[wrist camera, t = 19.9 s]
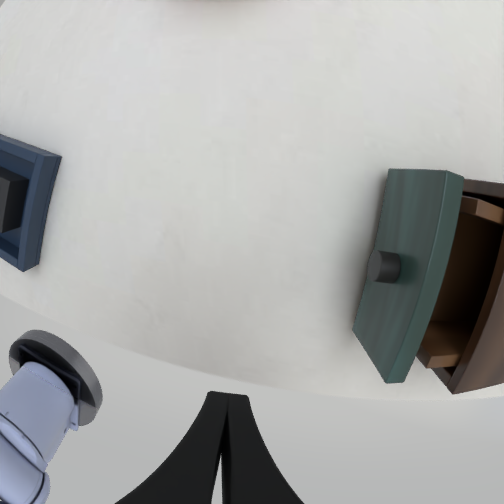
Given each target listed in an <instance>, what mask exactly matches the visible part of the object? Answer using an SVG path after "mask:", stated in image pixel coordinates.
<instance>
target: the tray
mask: <svg viewBox="0 0 504 504" xmlns="http://www.w3.org/2000/svg"><path fill="white" fill-rule="evenodd" d="M60 160H61V156H59V155H56V154H54V153H51V152H48V151H46V150H43V149H40V148H37V147H35V146H32V145H29V144H26V143H24V142H21V141H18V140H15V139H13V138H10V137H7V136H4V135H1V134H0V166H1V167H3V168H6V169H8V170H10V171H12V172H14V173H17V174H19V175H21V176H23V177H25V178H28V179H29V183H28V188H27V192H26V197H25V202H24V207H23V213H22V219H21V225H20V227H19V228H16V229H13V230H10V231H7V232H5V233H0V257H1V258H2V259H4V260H5V261H7V262H8V263H10V264H11V265H13V266H15V267H16V268H18V269H19V270H21V271H22V272H25V271H27V270H28V269H30V268H32V267H34V266H36V265H38V264H39V258H40V251H41V244H42V238H43V232H44V227H45V221H46V216H47V211H48V207H49V202H50V198H51V194H52V190H53V186H54V182H55V178H56V174H57V171H58V167H59V164H60Z"/></svg>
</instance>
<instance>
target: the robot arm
mask: <svg viewBox="0 0 504 504" xmlns="http://www.w3.org/2000/svg"><path fill="white" fill-rule="evenodd" d="M18 354H19V366H20V369H19V370H18V371H17V372H16V374H15V375H14V376H13V377H12V378H11V379H10V380H9V381H8V382H7V383H6V384H5V386H4V387H3V388H2V389H1V390H0V499H1V500H2V501H0V504H45V502H46V500H47V498H48V495H49V492H50V480H49V476H48V474H47V473H46V472H45V469H46V467H47V465H48V464H47V463H48V462H50V461H51V459H52V458H53V456H54V455H55V453H56V451H57V449H58V447H59V445H60V444H61V442H62V440H63V438H64V437H65V435H66V433H67V431H68V430H69V428H71V429H73V430H75V431H77V430H78V419H79V394H80V381H79V380H78V379H77V378H75V377H73V376H72V375H70V374H68V373H66V372H64V371H63V370H61V369H59V368H57V367H56V366H54V365H52V364H51V363H49V362H47V361H46V360H44V359H42V358H41V357H39V356H38V355H36V354H34V353H33V352H31V351H30V350H28V349H27V348H25V347H24V346H22V345H20V346H19V347H18ZM220 456H221V462H222V463H221V464H222V501H223V502H222V503H223V504H304V503H303V502H302V501H301V500H300V498H299V497H298V496H297V495H296V493H295V492H294V491H293V489H292V488H291V487H290V486H289V484H288V483H287V481H286V480H285V478H284V477H283V475H282V474H281V472H280V471H279V469H278V468H277V466H276V464H275V463H274V461H273V459H272V457H271V455H270V454H269V451H268V449H267V447H266V446H265V443H264V441H263V439H262V437H261V434H260V432H259V430H258V427H257V425H256V422H255V419H254V416H253V413H252V410H251V406H250V401H249V398H248V396H247V395H240V394H231V393H223V392H215V391H210V392H208V393H207V396H206V399H205V402H204V404H203V406H202V408H201V410H200V412H199V414H198V416H197V417H196V419H195V421H194V422H193V424H192V425H191V427H190V429H189V430H188V432H187V433H186V435H185V436H184V437H183V439H182V440H181V442H180V443H179V444H178V445H177V447H176V448H175V449H174V451H173V452H172V453H171V454H170V455H169V456H168V458H167V459H166V460H165V461H164V462H163V463H162V464H161V465H160V466H159V467H158V468H157V469H156V470H155V472H153V473H152V474H151V475H150V476H149V477H148V478H147V479H146V480H145V481H144V482H142V483H141V484H140V485H139V486H138V487H137V488H136V489H134V490H133V491H132V492H130V493H129V494H127V495H126V496H125V497H123V498H122V499H120V500H119V501H118V502H116V503H115V504H211V501H212V495H213V490H214V485H215V480H216V476H217V471H218V466H219V461H220Z"/></svg>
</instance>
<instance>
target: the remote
mask: <svg viewBox="0 0 504 504" xmlns="http://www.w3.org/2000/svg"><path fill="white" fill-rule="evenodd" d="M28 183H29V179H28V178H25V177H23V176H21V175H19V174H17V173H14V172H12V171H10V170H8V169H6V168H3V167H1V166H0V233H5V232H7V231H10V230H13V229H16V228H19V227H20V225H21V219H22V213H23V207H24V202H25V197H26V192H27V188H28Z"/></svg>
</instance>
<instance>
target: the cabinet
mask: <svg viewBox="0 0 504 504" xmlns="http://www.w3.org/2000/svg"><path fill="white" fill-rule="evenodd" d="M462 196H466V197H471V198H476V199H480V200H483V201H485V202H488V203H490V204H493V205H495V206H498V207H500V208H502V209H504V184H503V183H495V182H488V181H479V180H471V179H464V186H463V192H462ZM431 369H432V370H433V371H434V373H435V374H436V375H437V376H438V377H439V379H440V380H441V381H442V382H443V383H444V385H445V386H447V388H448V390H449V391H450V392H451V393H452V394H458V393H463V392H468V391H473V390H477V389H482V388H486V387H490V386H494V385H498V384H501V383H504V230H503V235H502V240H501V244H500V249H499V253H498V257H497V261H496V264H495V268H494V272H493V275H492V278H491V282H490V285H489V288H488V291H487V294H486V297H485V300H484V303H483V306H482V309H481V312H480V314H479V317H478V320H477V322H476V325H475V327H474V330H473V332H472V335H471V337H470V340H469V342H468V344H467V346H466V349H465V351H464V353H463V355H462V357H461V360H460V362H459V364H458V366H449V367H439V368H431Z"/></svg>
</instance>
